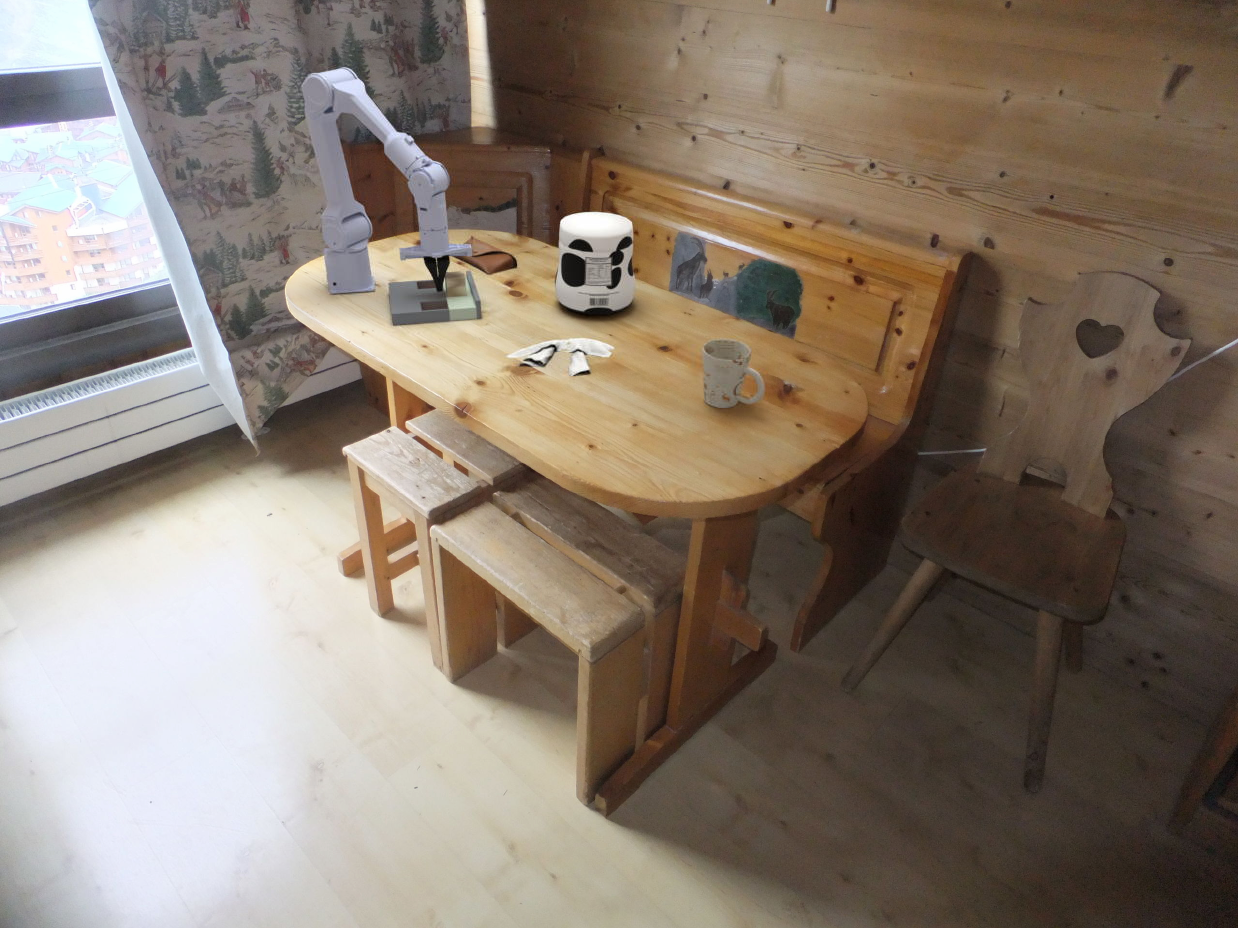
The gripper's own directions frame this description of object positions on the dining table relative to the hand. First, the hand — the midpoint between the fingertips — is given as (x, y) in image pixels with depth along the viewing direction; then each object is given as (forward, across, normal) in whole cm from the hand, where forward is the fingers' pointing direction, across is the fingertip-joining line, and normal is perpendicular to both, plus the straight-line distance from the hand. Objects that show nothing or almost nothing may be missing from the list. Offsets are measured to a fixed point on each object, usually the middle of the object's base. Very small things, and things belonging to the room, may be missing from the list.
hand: (439, 290), depth 171 cm
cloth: (+4, +20, -30) cm, 36 cm away
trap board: (+3, -2, 0) cm, 4 cm away
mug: (+4, +46, -53) cm, 70 cm away
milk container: (+4, +33, -6) cm, 33 cm away
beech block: (+1, +3, 0) cm, 4 cm away
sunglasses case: (+4, +12, +25) cm, 28 cm away
